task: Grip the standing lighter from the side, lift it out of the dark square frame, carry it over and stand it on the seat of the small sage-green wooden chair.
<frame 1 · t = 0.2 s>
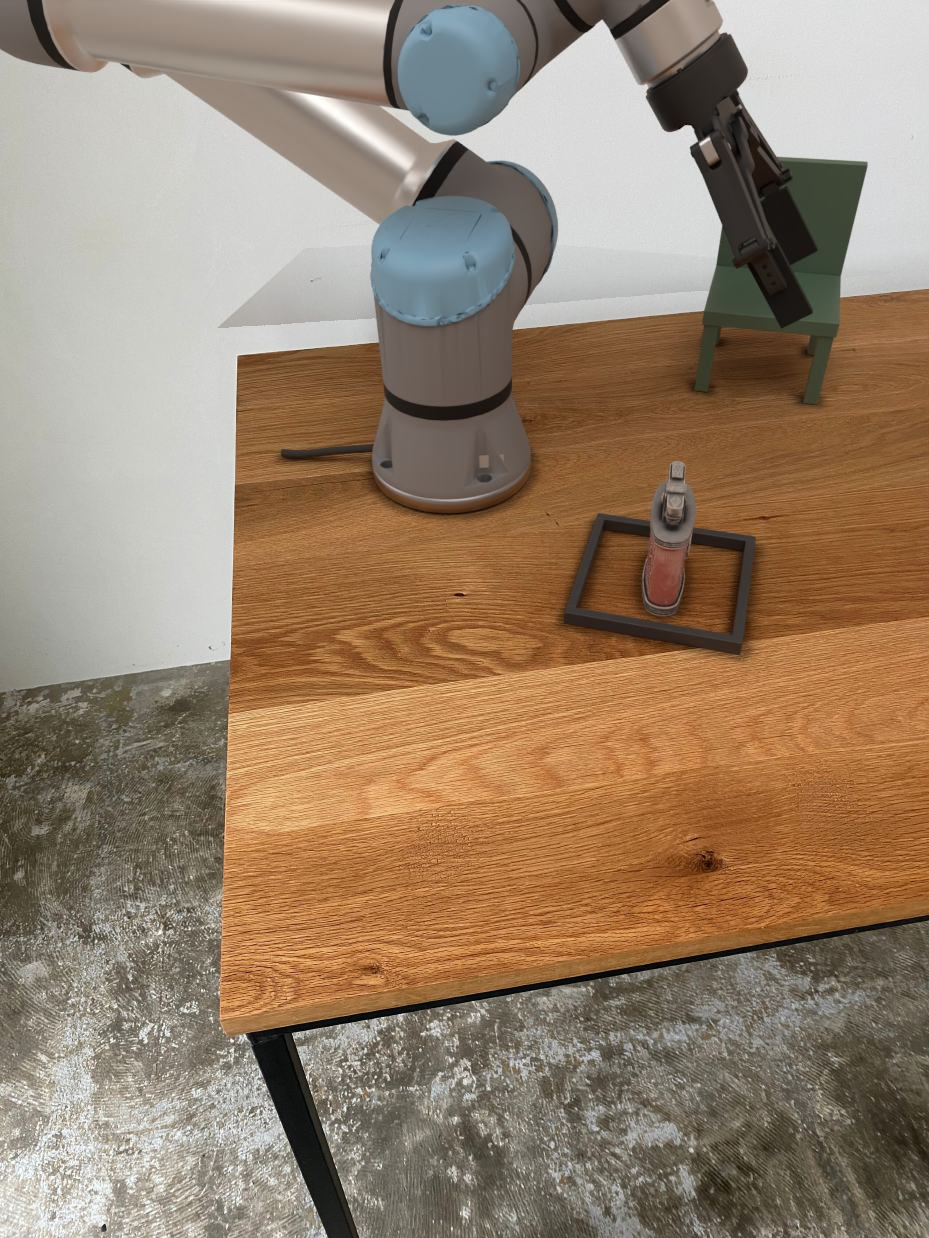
hand: (800, 286, 83), 15 cm above the table, tool tilted 35°, fingers open, 13 cm apart
lighter: (662, 585, 77), resting in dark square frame
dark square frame: (662, 583, 77), on the table
chair: (759, 370, 103), on the table
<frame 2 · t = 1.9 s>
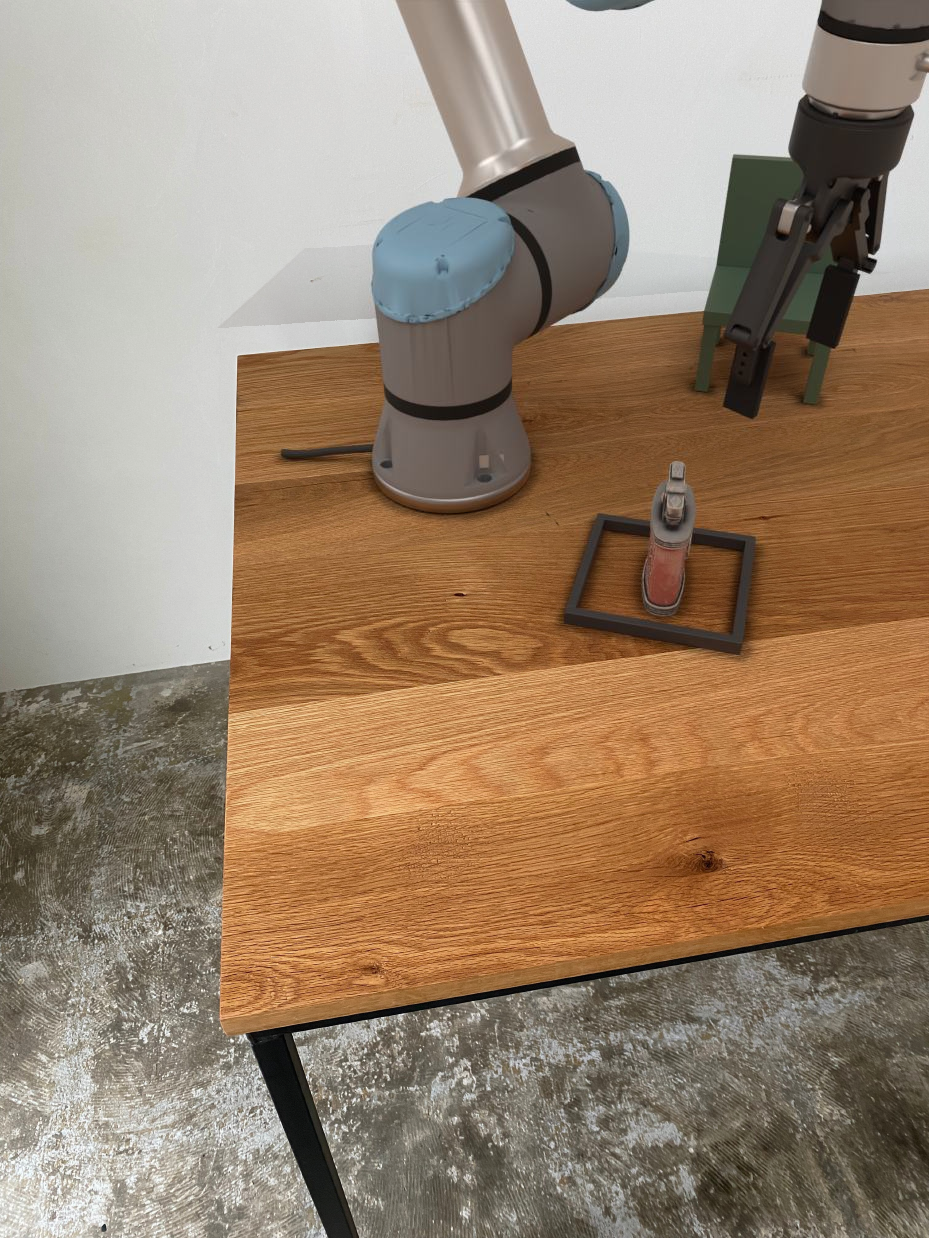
hand: (782, 375, 78), 12 cm above the table, tool pointing down, fingers open, 13 cm apart
nothing on the table moved.
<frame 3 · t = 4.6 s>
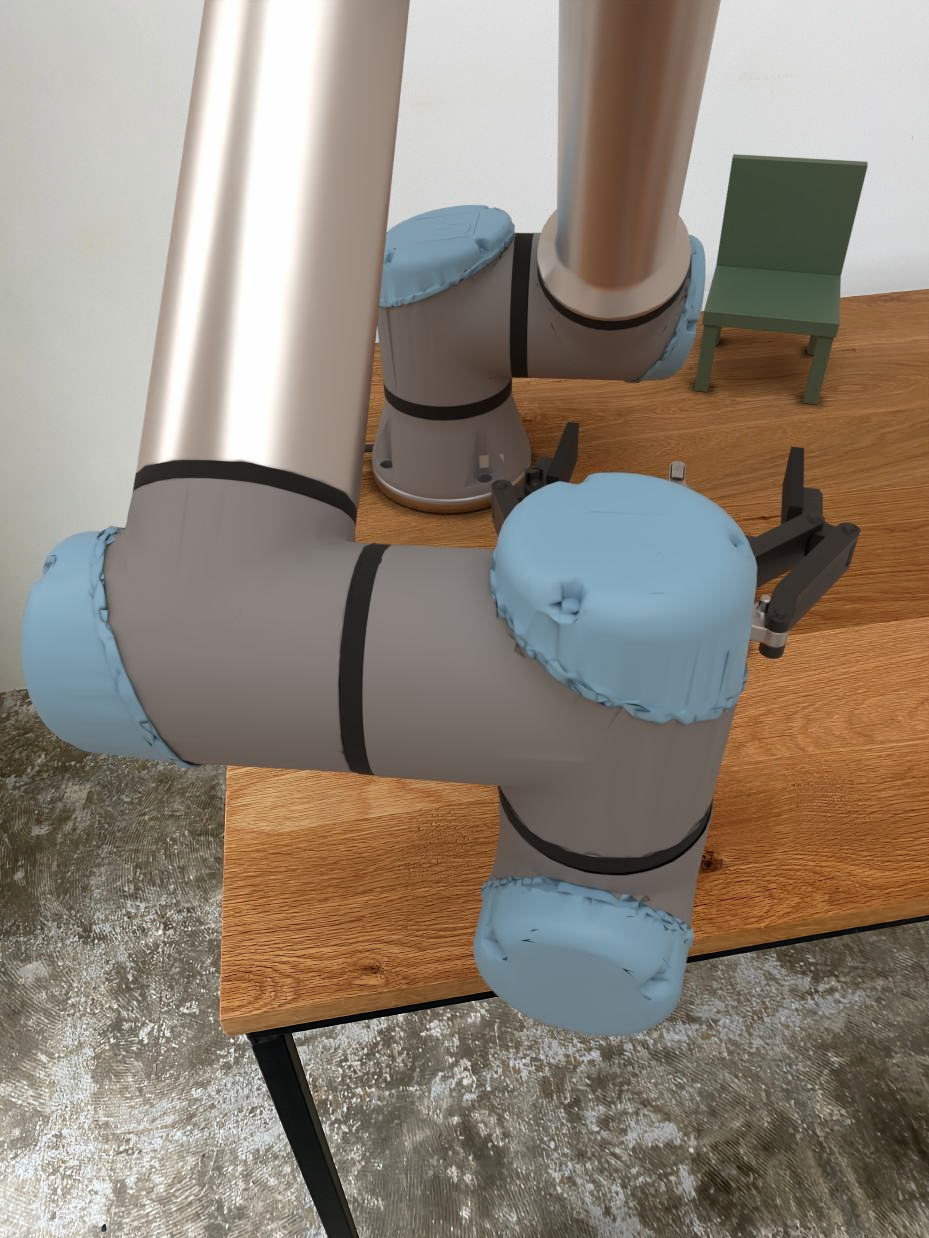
hand: (680, 453, 58), 18 cm above the table, tool horizontal, fingers open, 13 cm apart
nothing on the table moved.
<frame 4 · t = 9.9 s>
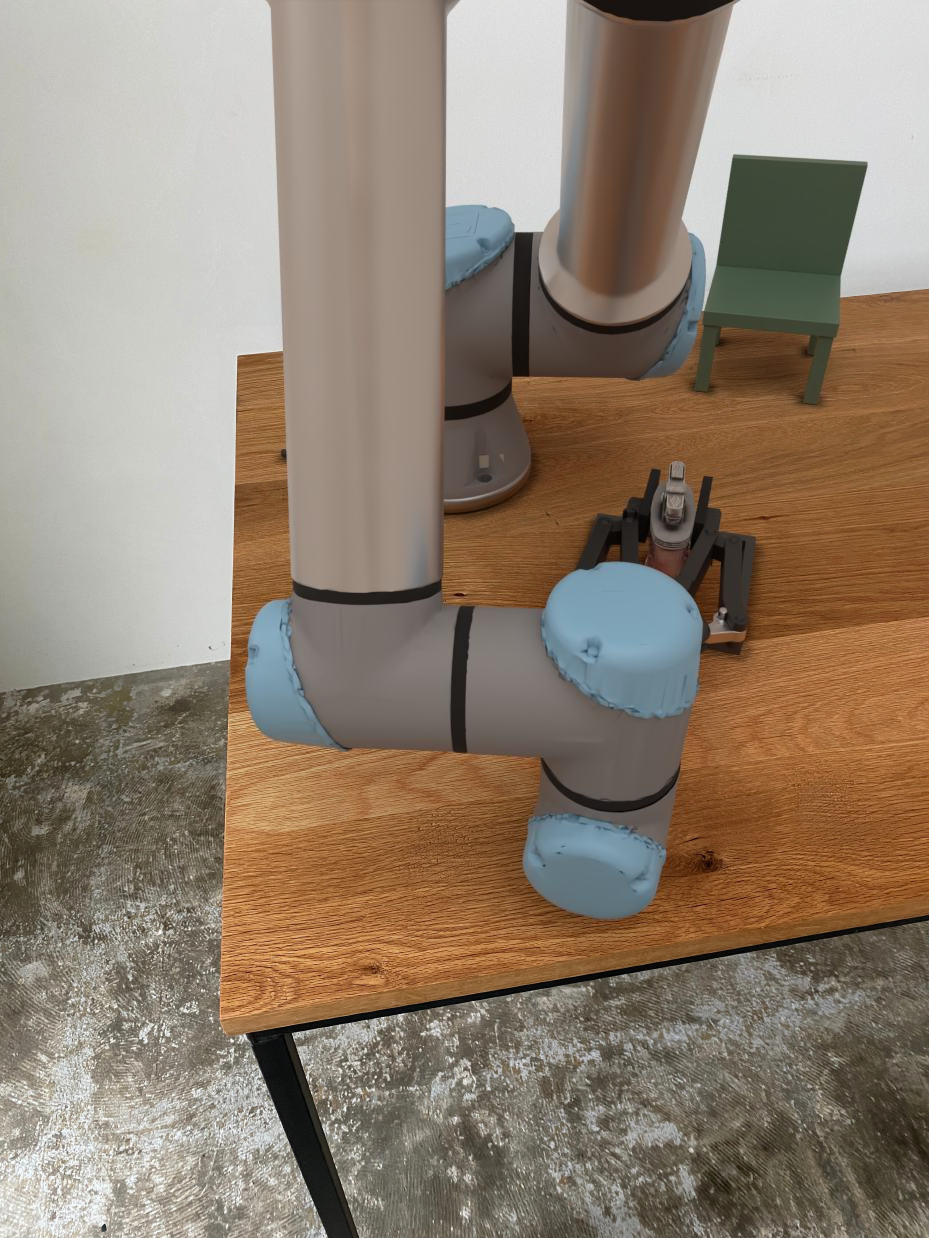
hand: (679, 486, 77), 6 cm above the table, tool horizontal, fingers closed on lighter, 3 cm apart
lighter: (662, 585, 77), resting in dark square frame, touching gripper
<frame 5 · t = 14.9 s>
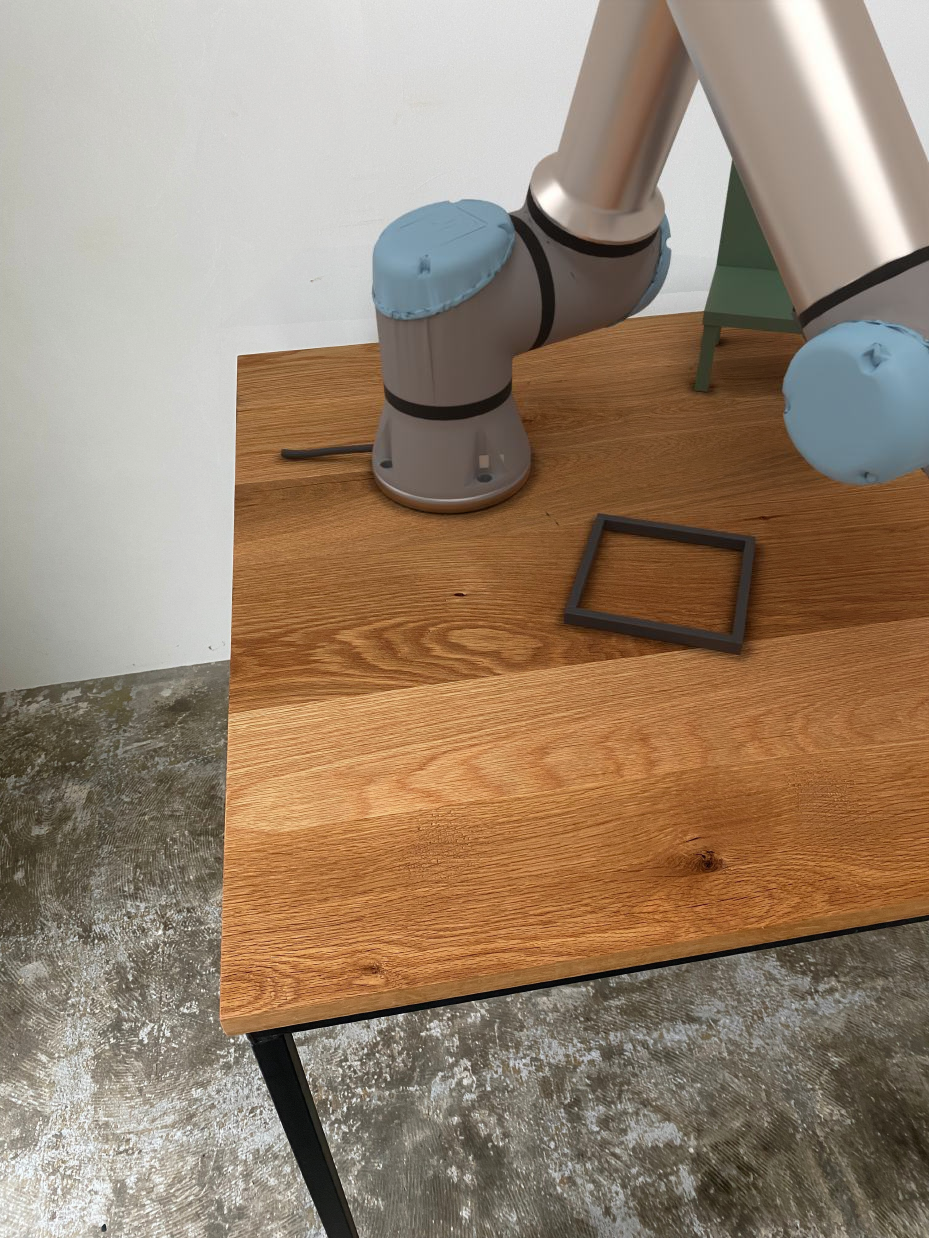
hand: (830, 259, 80), 18 cm above the table, tool horizontal, fingers closed on lighter, 3 cm apart
lighter: (834, 355, 80), point 12 cm above the table, touching gripper
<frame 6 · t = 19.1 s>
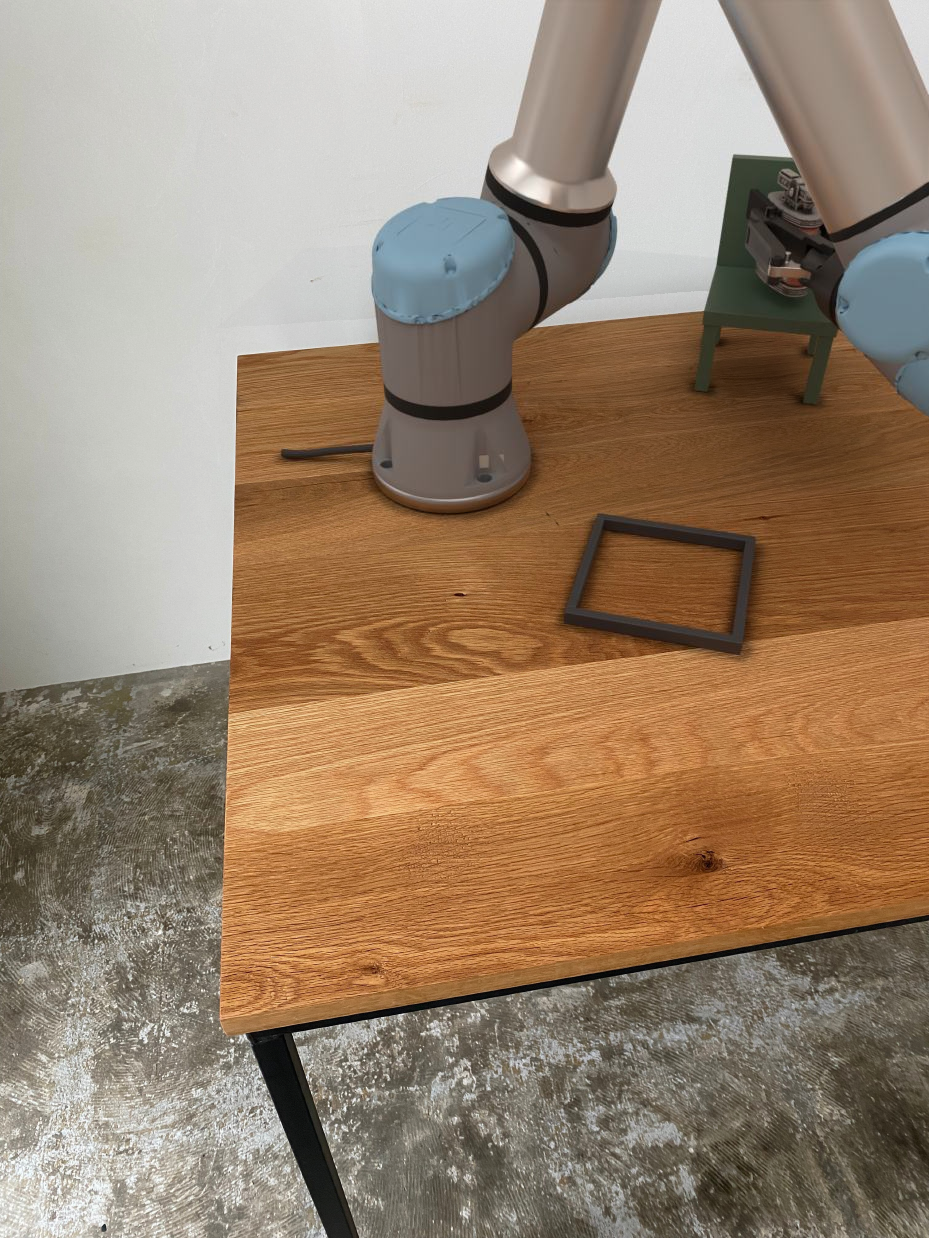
hand: (771, 201, 95), 16 cm above the table, tool horizontal, fingers closed on lighter, 3 cm apart
lighter: (780, 282, 95), point 10 cm above the table, touching gripper
when the fingers open (15 cm above the table, at t = 19.8 s): lighter stays where it is, resting on chair.
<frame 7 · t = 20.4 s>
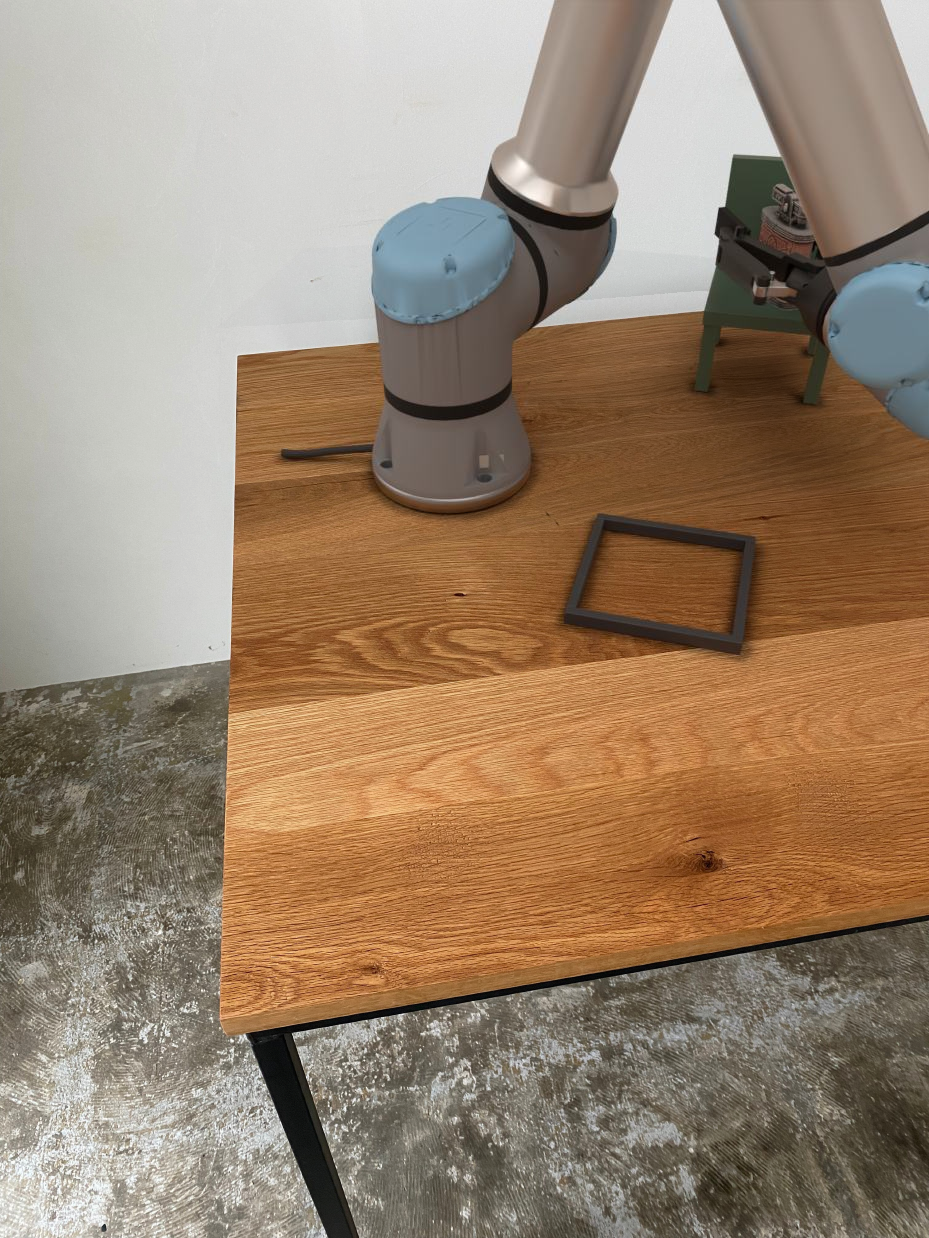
hand: (753, 217, 96), 15 cm above the table, tool horizontal, fingers open, 6 cm apart
lighter: (774, 295, 96), point 9 cm above the table, touching chair
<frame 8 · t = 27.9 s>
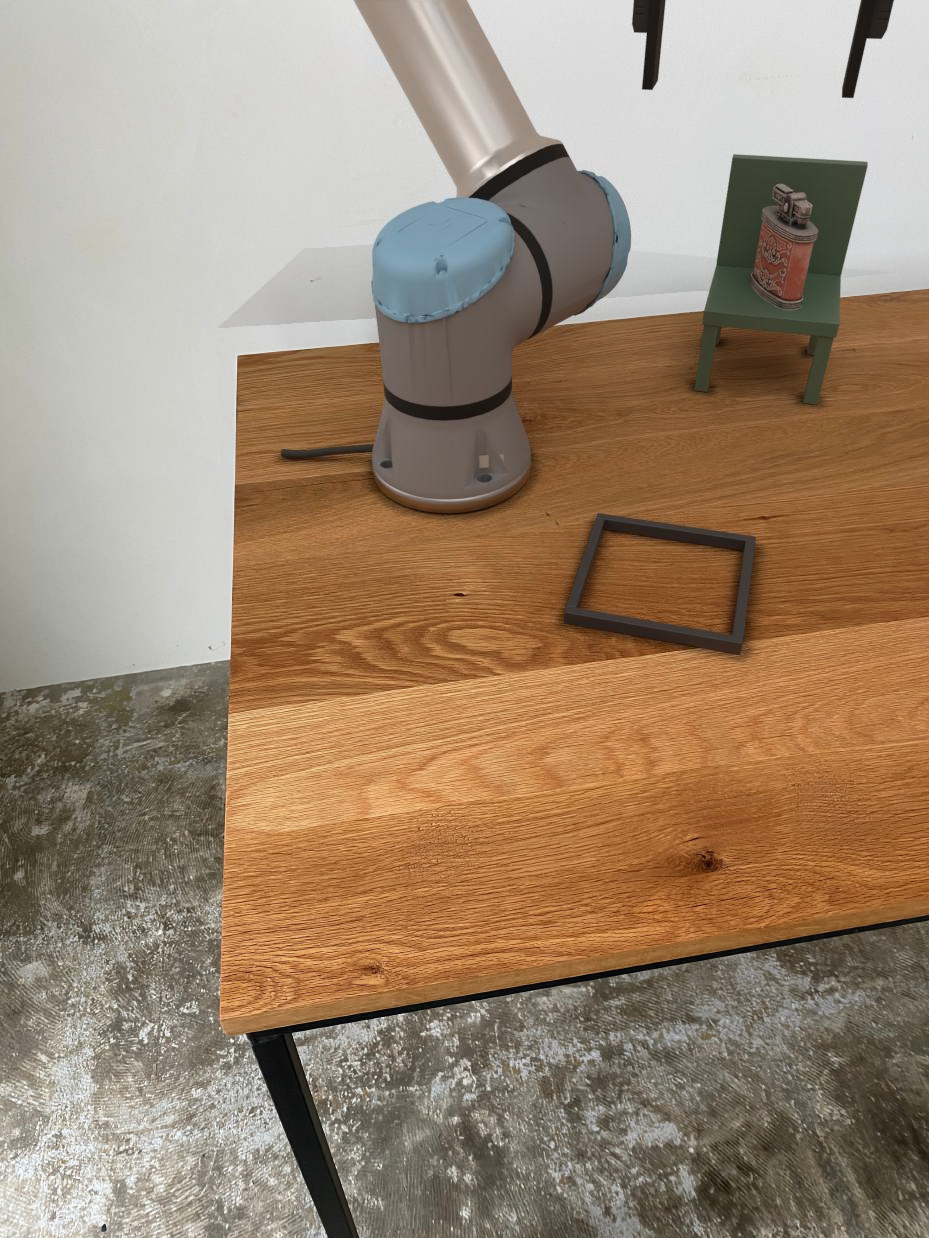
hand: (746, 89, 66), 33 cm above the table, tool pointing down, fingers open, 13 cm apart
nothing on the table moved.
at the end: lighter inside the target area on the chair (0.9 cm from its centre), point 8.8 cm above the chair's base; lighter tilted 0°; the gripper is holding nothing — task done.
